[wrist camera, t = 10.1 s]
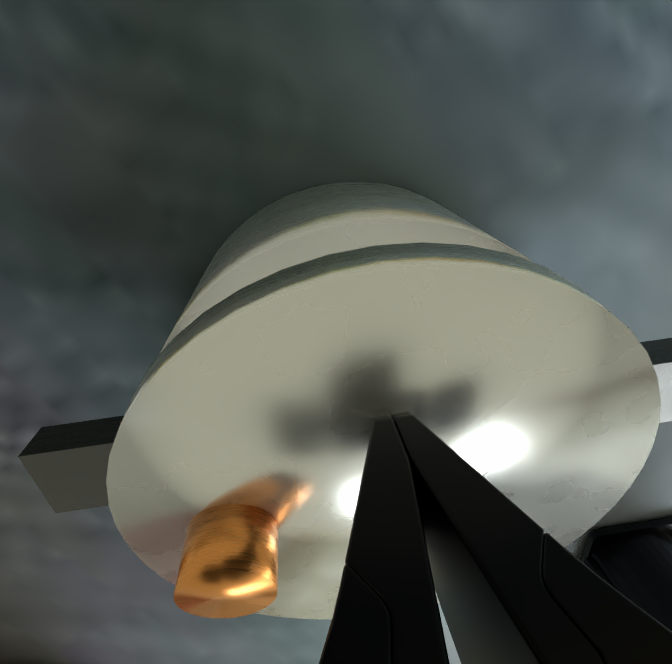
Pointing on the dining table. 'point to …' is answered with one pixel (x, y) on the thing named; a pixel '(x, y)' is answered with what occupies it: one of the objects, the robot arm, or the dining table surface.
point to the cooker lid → (369, 414)
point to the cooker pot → (259, 262)
